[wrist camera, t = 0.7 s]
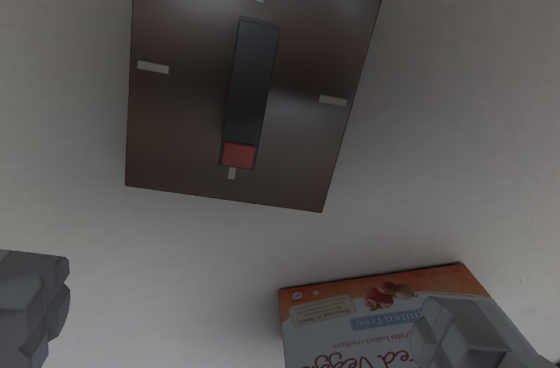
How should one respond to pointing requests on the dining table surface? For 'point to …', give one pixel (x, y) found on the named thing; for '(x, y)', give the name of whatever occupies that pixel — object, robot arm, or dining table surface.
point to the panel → (214, 93)
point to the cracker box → (367, 317)
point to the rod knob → (248, 92)
